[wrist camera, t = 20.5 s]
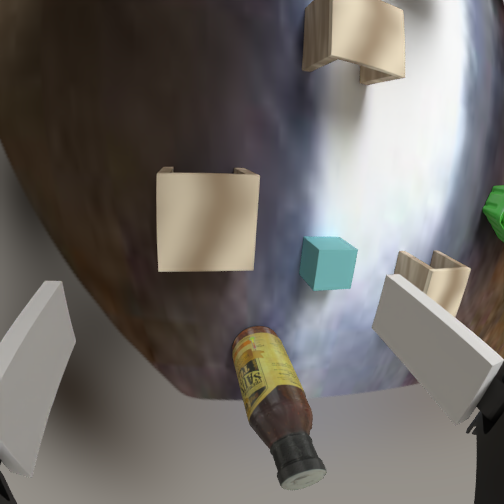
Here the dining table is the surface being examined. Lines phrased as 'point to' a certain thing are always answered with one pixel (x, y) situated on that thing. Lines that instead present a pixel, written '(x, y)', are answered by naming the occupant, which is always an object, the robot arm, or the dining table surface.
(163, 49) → the dining table surface
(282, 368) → the sauce bottle
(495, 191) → the fruit basket
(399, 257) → the cover
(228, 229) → the cover
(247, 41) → the dining table surface
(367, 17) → the cover
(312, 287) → the teal cube
